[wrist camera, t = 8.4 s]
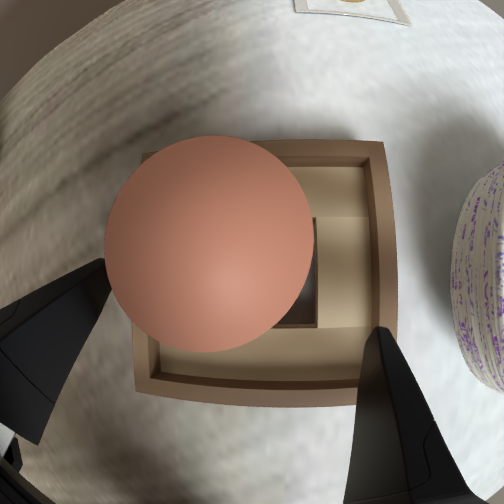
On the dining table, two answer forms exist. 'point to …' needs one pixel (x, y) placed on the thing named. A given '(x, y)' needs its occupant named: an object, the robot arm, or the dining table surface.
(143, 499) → the dining table surface
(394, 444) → the robot arm
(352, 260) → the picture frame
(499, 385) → the white and purple bowl
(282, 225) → the peg
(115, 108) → the dining table surface
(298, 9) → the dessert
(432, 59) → the dining table surface
